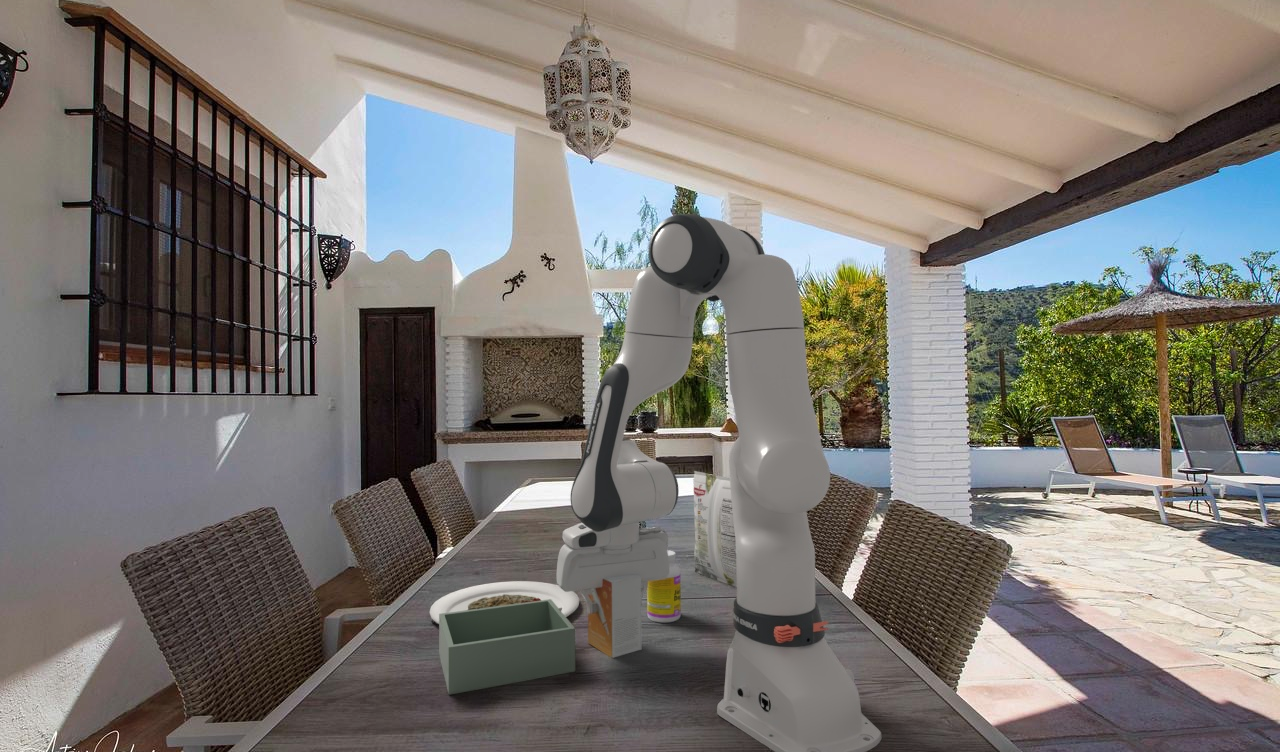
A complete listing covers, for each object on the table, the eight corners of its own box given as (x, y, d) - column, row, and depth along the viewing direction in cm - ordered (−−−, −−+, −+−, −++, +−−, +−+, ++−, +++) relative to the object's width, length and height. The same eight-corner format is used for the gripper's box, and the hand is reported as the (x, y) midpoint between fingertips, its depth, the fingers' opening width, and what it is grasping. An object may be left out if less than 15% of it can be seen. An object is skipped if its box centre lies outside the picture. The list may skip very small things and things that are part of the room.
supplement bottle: (678, 625, 125) (677, 557, 125) (644, 622, 126) (643, 556, 126) (682, 613, 131) (682, 549, 131) (650, 611, 132) (650, 547, 133)
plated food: (459, 588, 150) (459, 573, 150) (588, 590, 148) (588, 575, 148) (404, 639, 120) (404, 621, 120) (565, 642, 118) (565, 623, 118)
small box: (587, 644, 115) (586, 570, 116) (617, 636, 119) (616, 565, 119) (611, 659, 109) (611, 581, 109) (642, 650, 112) (642, 575, 113)
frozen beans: (762, 592, 144) (761, 479, 145) (742, 596, 141) (741, 481, 142) (704, 570, 162) (703, 469, 162) (685, 573, 159) (684, 471, 159)
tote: (575, 672, 104) (575, 628, 104) (448, 694, 97) (448, 647, 97) (551, 637, 119) (550, 599, 119) (439, 654, 111) (439, 613, 111)
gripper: (660, 522, 121) (661, 596, 121) (553, 532, 113) (554, 611, 113) (675, 529, 115) (675, 607, 115) (563, 539, 108) (563, 623, 107)
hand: (614, 609), depth 114 cm, fingers closed on small box, 7 cm apart
